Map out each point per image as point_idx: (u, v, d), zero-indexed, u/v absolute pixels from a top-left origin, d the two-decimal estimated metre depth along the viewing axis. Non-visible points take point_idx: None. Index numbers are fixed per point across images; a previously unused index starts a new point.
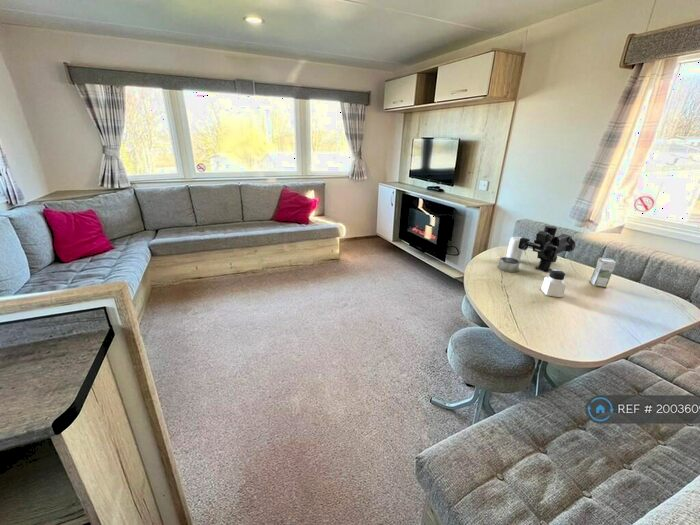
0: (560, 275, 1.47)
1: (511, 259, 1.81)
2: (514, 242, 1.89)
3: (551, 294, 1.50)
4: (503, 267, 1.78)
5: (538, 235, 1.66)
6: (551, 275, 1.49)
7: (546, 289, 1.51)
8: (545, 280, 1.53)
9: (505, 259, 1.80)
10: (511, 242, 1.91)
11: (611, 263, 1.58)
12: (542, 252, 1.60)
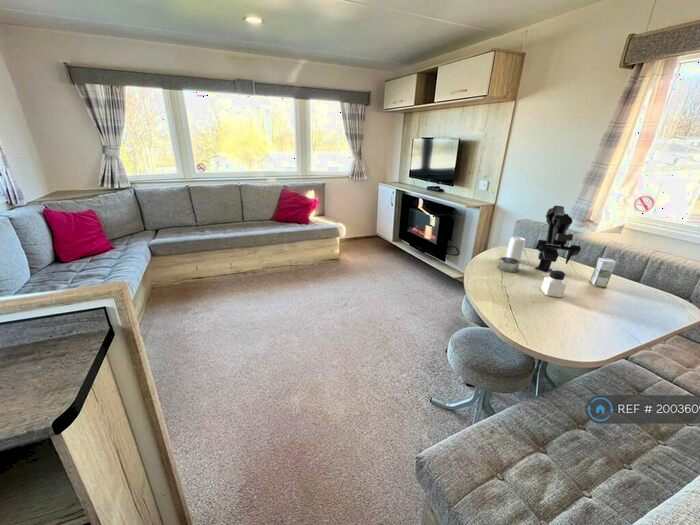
0: (560, 275, 1.47)
1: (511, 259, 1.81)
2: (514, 242, 1.89)
3: (551, 294, 1.50)
4: (503, 267, 1.78)
5: (558, 239, 1.54)
6: (551, 275, 1.49)
7: (546, 289, 1.51)
8: (545, 280, 1.53)
9: (505, 259, 1.80)
10: (511, 242, 1.91)
11: (611, 263, 1.58)
12: (568, 260, 1.54)
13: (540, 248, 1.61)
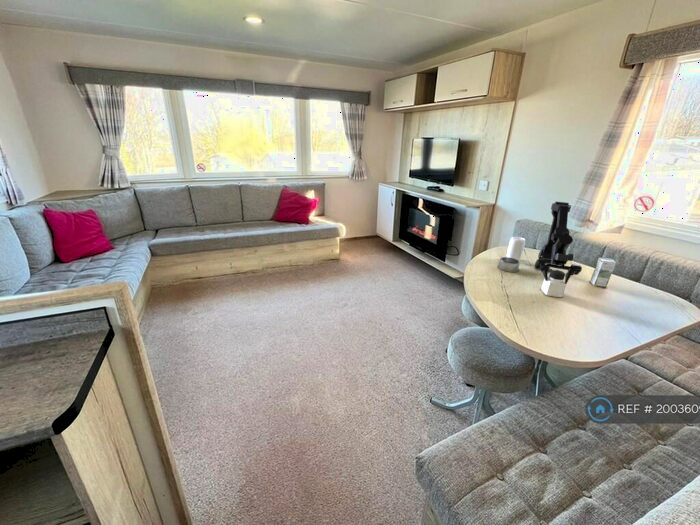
0: (560, 275, 1.47)
1: (511, 259, 1.81)
2: (514, 242, 1.89)
3: (551, 294, 1.50)
4: (503, 267, 1.78)
5: (558, 259, 1.48)
6: (551, 275, 1.49)
7: (546, 289, 1.51)
8: None
9: (505, 259, 1.80)
10: (511, 242, 1.91)
11: (611, 263, 1.58)
12: (567, 280, 1.49)
13: (541, 268, 1.55)
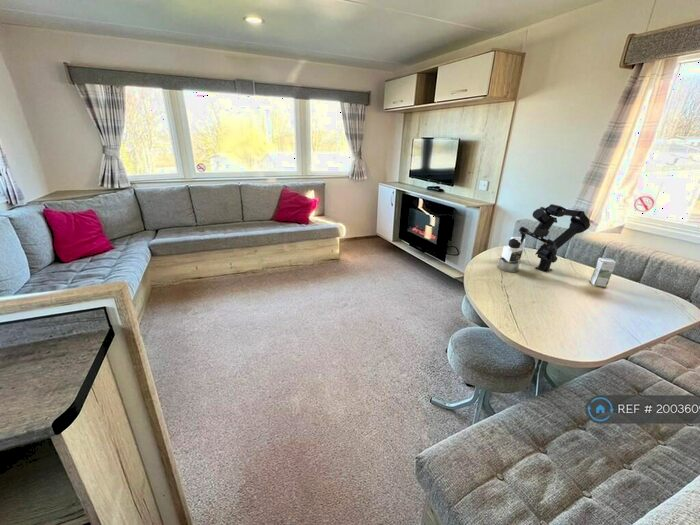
0: (510, 243, 1.72)
1: None
2: None
3: (503, 256, 1.79)
4: (503, 267, 1.78)
5: None
6: None
7: None
8: None
9: (505, 259, 1.80)
10: None
11: (611, 263, 1.58)
12: (539, 252, 1.70)
13: (521, 234, 1.75)
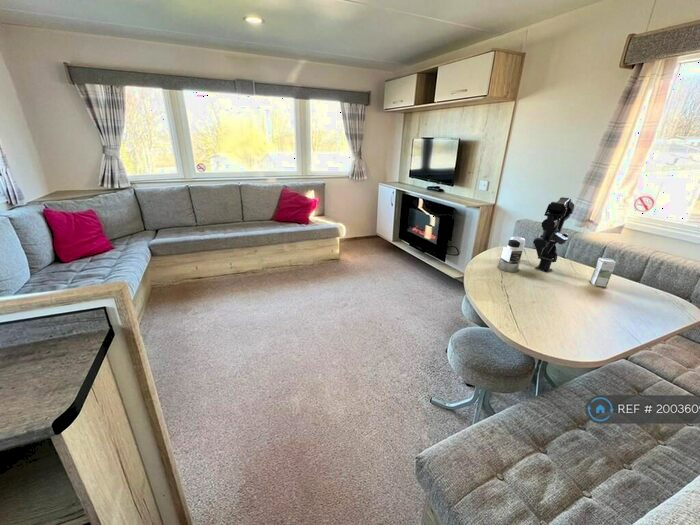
0: (510, 242, 1.75)
1: None
2: None
3: (503, 257, 1.80)
4: (503, 267, 1.78)
5: None
6: None
7: None
8: None
9: None
10: None
11: (611, 263, 1.58)
12: None
13: None
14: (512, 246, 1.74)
